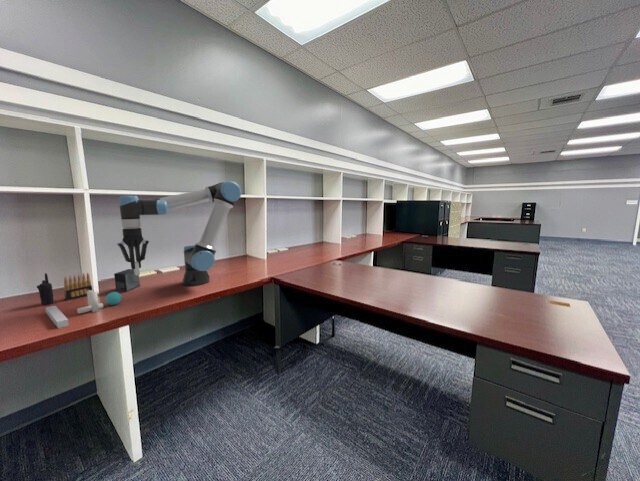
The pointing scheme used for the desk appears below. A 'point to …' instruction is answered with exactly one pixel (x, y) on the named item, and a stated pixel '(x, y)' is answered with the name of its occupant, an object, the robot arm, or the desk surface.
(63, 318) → the white rectangular eraser
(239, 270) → the desk surface
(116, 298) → the ball
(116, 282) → the small box
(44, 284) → the two-way radio
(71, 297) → the ammunition clip
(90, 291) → the back right pin
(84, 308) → the front pin
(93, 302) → the back left pin
